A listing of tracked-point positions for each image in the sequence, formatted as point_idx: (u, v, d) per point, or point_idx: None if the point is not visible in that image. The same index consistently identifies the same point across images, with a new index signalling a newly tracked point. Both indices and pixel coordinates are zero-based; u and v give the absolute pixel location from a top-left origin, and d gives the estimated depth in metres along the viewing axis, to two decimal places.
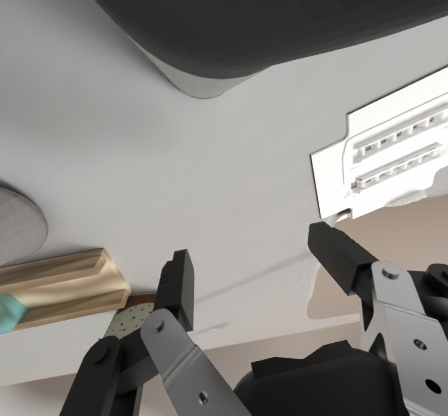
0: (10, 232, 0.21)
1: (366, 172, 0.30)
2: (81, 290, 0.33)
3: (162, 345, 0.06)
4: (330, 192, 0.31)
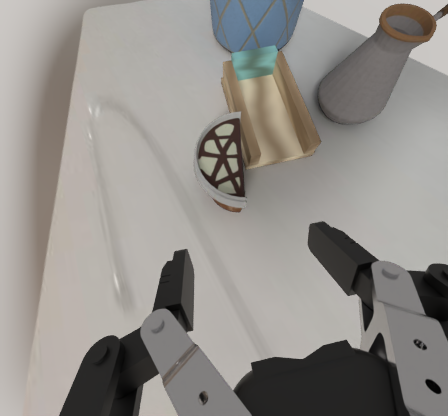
0: (375, 100, 0.27)
1: None
2: (258, 125, 0.31)
3: (162, 345, 0.06)
4: None
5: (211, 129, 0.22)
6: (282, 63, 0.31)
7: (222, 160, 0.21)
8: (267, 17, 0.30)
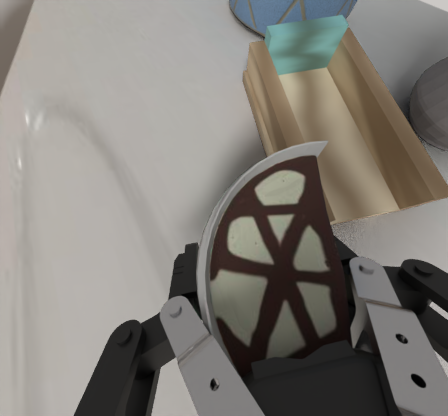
0: None
1: None
2: None
3: (182, 328, 0.06)
4: None
5: (246, 187, 0.08)
6: (353, 47, 0.18)
7: (283, 286, 0.07)
8: None
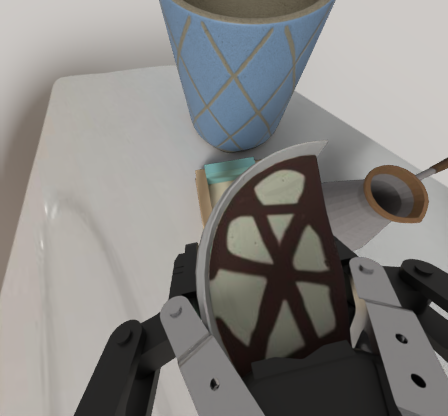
0: (360, 242, 0.24)
1: None
2: None
3: (182, 328, 0.06)
4: None
5: (245, 186, 0.08)
6: None
7: (282, 286, 0.07)
8: (245, 128, 0.27)
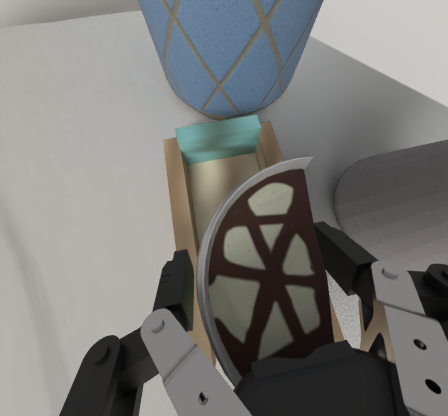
0: None
1: None
2: None
3: (162, 345, 0.06)
4: None
5: (239, 199, 0.09)
6: (270, 146, 0.17)
7: (273, 289, 0.08)
8: (242, 66, 0.16)
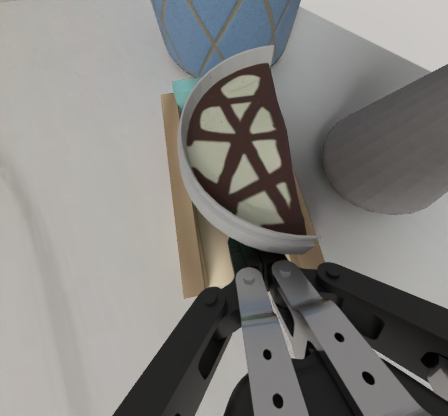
0: (437, 190, 0.13)
1: None
2: None
3: (262, 292, 0.07)
4: None
5: (213, 87, 0.10)
6: None
7: (242, 145, 0.09)
8: (235, 21, 0.17)
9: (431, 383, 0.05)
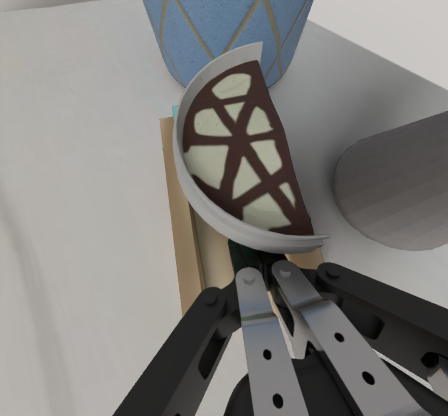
0: None
1: None
2: (221, 239, 0.17)
3: (262, 292, 0.07)
4: None
5: (204, 88, 0.10)
6: None
7: (240, 148, 0.09)
8: (240, 42, 0.16)
9: (431, 383, 0.05)
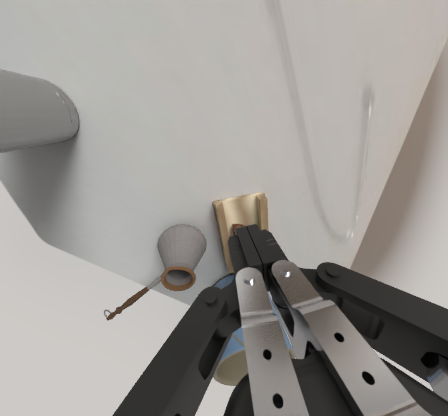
0: (177, 237, 0.37)
1: None
2: (249, 223, 0.43)
3: (262, 292, 0.07)
4: None
5: None
6: (230, 264, 0.45)
7: None
8: None
9: (431, 383, 0.05)
